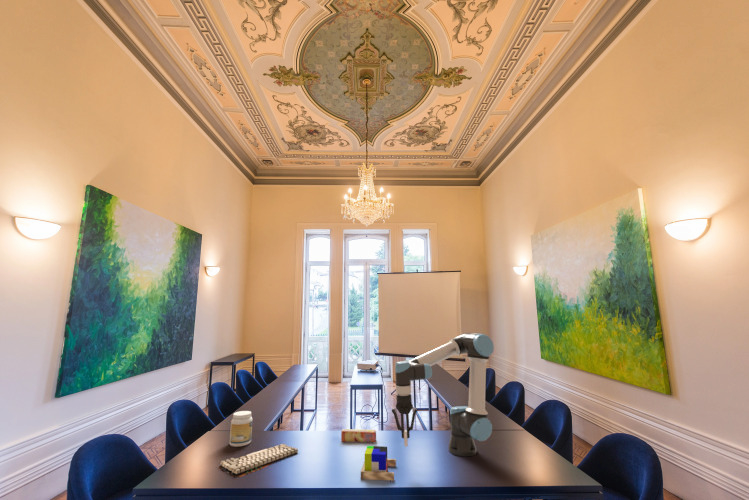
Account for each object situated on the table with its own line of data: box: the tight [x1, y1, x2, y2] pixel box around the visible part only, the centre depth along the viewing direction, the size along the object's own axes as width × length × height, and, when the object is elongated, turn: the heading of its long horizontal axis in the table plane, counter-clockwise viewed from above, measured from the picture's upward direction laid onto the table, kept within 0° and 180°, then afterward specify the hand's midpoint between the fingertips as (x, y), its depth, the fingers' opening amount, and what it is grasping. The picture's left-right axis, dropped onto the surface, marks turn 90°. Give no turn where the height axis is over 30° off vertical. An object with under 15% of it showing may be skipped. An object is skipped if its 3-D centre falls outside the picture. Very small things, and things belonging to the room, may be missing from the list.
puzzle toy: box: [364, 445, 388, 472], centre depth 162 cm, size 10×10×10 cm
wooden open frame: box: [360, 458, 397, 482], centre depth 162 cm, size 16×16×3 cm
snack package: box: [340, 428, 377, 443], centre depth 203 cm, size 21×7×7 cm, turn 87°
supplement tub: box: [229, 410, 254, 448], centre depth 200 cm, size 12×12×17 cm
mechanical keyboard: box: [218, 443, 299, 478], centre depth 176 cm, size 38×19×3 cm, turn 141°
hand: (406, 445), depth 163 cm, fingers closed
